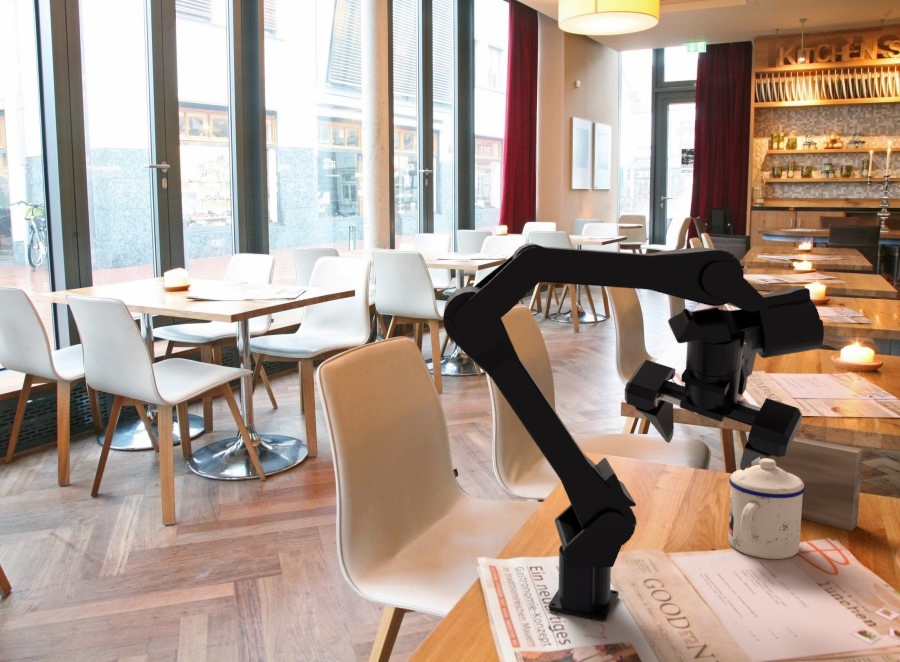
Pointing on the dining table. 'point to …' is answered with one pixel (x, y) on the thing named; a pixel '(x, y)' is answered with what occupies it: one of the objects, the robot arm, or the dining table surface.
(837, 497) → the bookend
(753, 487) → the teacup with lid
